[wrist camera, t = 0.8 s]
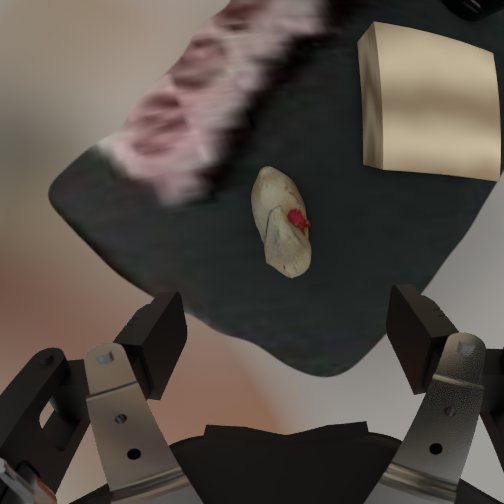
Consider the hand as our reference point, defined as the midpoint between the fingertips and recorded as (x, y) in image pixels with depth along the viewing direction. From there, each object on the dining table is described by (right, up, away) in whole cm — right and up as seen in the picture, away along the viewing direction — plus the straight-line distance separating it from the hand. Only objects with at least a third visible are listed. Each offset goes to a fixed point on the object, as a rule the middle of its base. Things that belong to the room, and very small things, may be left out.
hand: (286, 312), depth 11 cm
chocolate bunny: (+1, +6, +17) cm, 18 cm away
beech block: (+15, +16, +13) cm, 25 cm away
